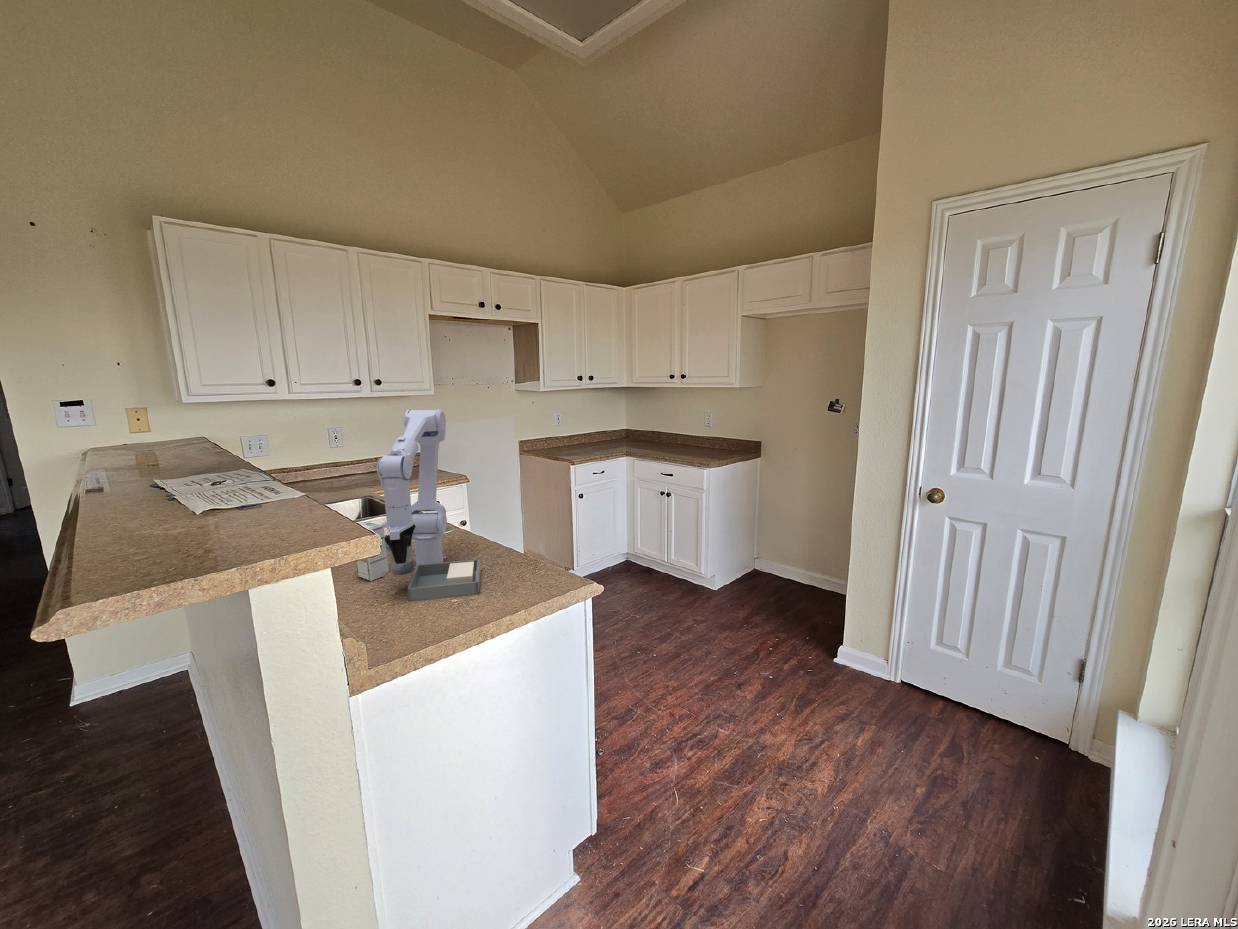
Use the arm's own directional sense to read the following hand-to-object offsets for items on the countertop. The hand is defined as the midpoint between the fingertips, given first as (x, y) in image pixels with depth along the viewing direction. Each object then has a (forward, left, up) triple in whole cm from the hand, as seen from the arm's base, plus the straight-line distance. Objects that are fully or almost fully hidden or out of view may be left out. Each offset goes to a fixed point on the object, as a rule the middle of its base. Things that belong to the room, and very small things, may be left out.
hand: (402, 559), depth 127 cm
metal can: (0, 0, -3) cm, 3 cm away
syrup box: (-14, -10, -9) cm, 20 cm away
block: (-1, +13, -8) cm, 16 cm away
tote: (-1, +10, -9) cm, 13 cm away
